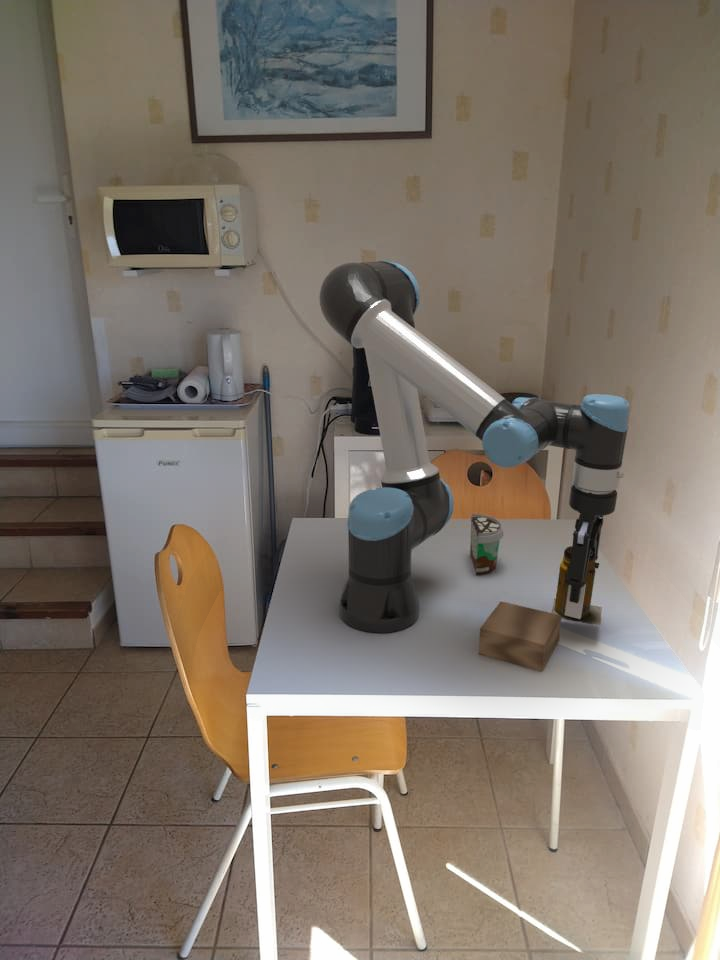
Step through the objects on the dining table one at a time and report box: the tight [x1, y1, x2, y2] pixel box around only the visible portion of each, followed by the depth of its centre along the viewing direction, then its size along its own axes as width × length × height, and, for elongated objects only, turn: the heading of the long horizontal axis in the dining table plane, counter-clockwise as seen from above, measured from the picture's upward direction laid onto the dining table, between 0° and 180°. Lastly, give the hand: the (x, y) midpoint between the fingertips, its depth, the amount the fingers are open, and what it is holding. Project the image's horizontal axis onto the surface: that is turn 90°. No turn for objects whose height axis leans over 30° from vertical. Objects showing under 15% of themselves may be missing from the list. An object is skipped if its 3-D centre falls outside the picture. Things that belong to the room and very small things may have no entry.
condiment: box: [551, 545, 603, 626], centre depth 127 cm, size 7×8×12 cm
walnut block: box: [478, 600, 562, 672], centre depth 124 cm, size 11×11×5 cm
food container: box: [469, 513, 504, 576], centre depth 155 cm, size 12×6×10 cm, turn 179°
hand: (577, 607), depth 128 cm, fingers closed on condiment, 6 cm apart
